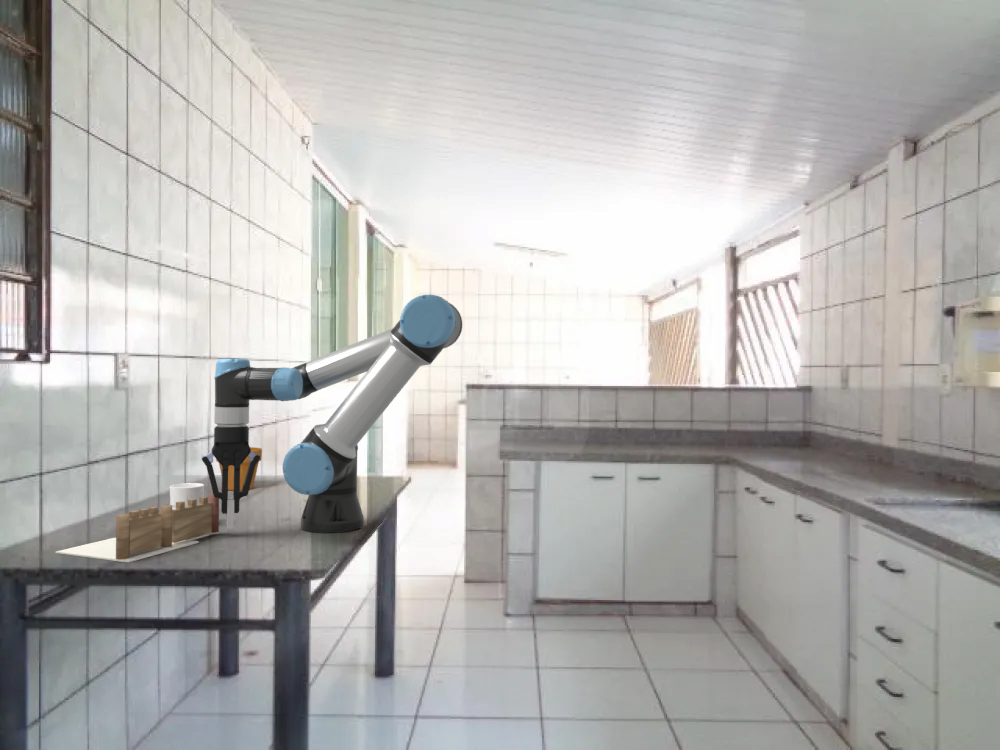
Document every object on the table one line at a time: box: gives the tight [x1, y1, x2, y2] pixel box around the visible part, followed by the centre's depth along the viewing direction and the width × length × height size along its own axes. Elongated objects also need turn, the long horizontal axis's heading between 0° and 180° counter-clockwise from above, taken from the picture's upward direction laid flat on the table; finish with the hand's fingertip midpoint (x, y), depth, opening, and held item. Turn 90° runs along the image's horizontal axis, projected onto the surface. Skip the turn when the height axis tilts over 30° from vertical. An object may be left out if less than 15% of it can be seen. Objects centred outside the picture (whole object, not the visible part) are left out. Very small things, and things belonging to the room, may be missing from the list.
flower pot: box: [215, 446, 263, 491], centre depth 243 cm, size 14×14×13 cm
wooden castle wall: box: [115, 504, 172, 560], centre depth 154 cm, size 2×14×9 cm, turn 159°
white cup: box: [169, 482, 205, 510], centre depth 182 cm, size 8×8×10 cm
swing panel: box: [172, 494, 220, 543], centre depth 167 cm, size 2×13×8 cm, turn 159°
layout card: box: [54, 536, 200, 563], centre depth 159 cm, size 20×19×1 cm
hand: (230, 527), depth 171 cm, fingers closed
